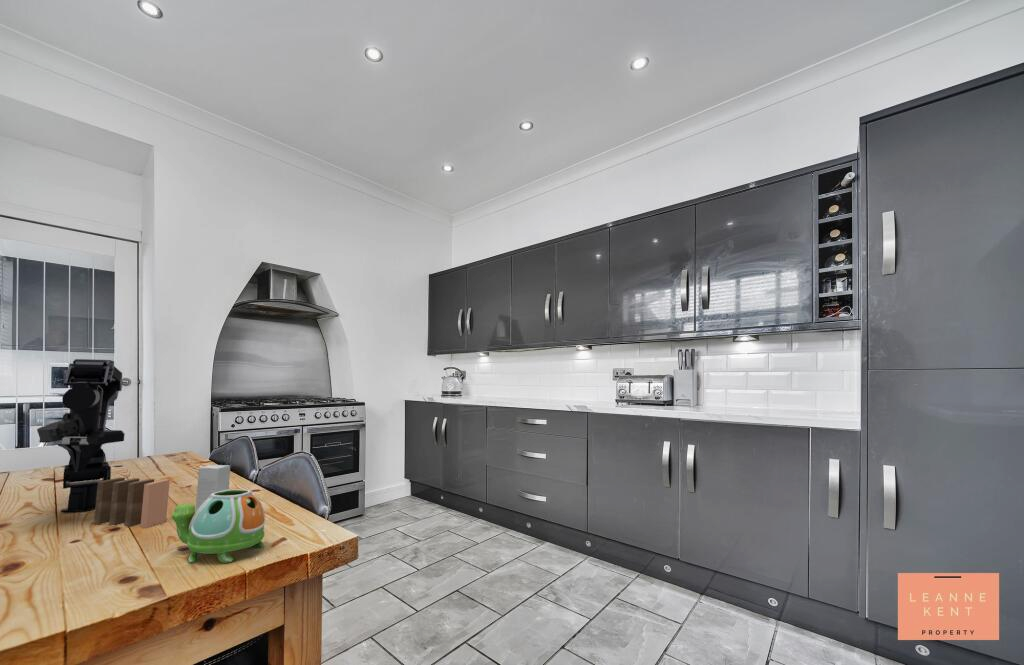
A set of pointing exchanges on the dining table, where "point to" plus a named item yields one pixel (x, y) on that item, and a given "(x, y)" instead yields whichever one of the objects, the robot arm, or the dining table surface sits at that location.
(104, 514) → the domino
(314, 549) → the dining table surface
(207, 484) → the skincare box
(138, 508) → the domino
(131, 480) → the domino
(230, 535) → the turtle holder
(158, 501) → the domino end
